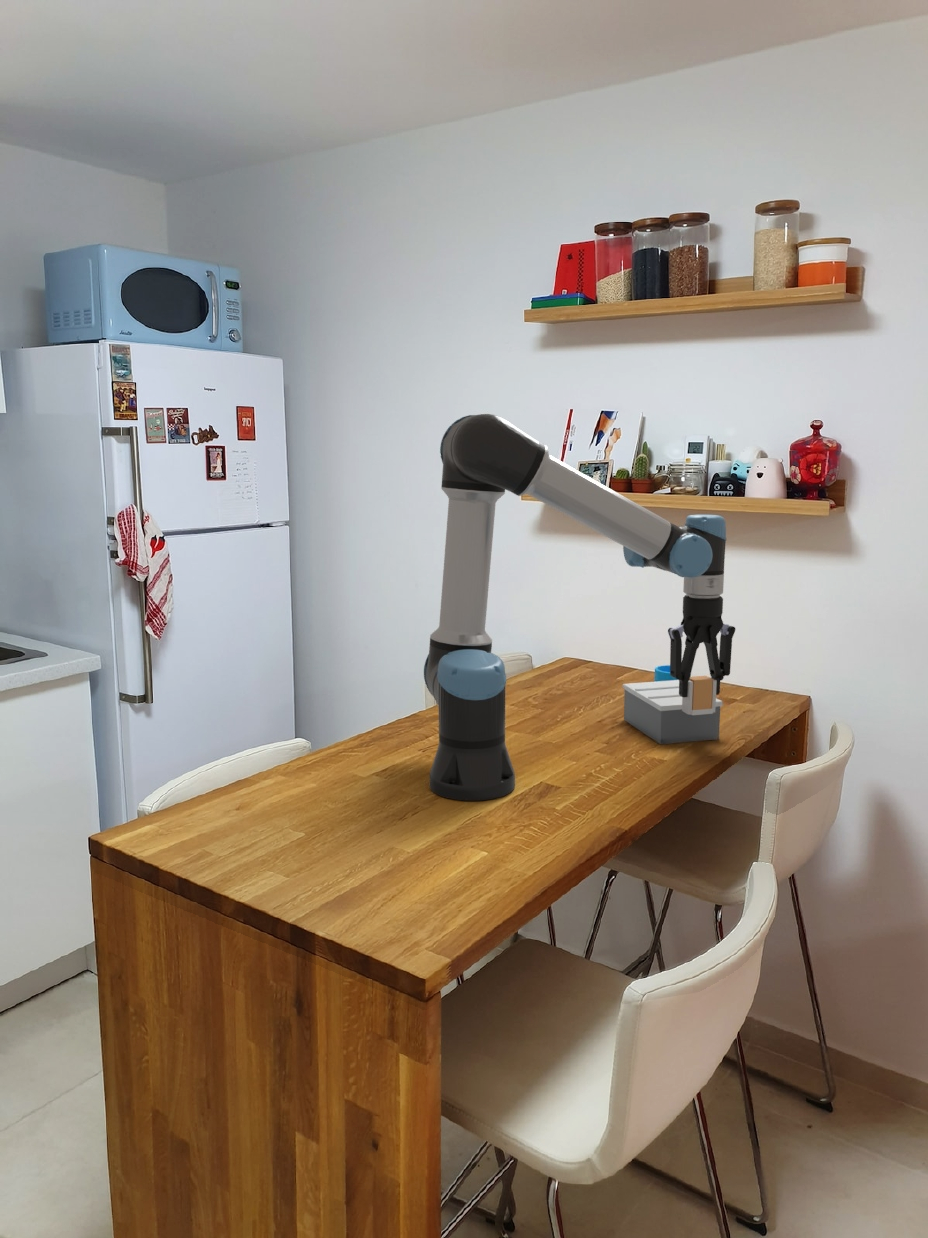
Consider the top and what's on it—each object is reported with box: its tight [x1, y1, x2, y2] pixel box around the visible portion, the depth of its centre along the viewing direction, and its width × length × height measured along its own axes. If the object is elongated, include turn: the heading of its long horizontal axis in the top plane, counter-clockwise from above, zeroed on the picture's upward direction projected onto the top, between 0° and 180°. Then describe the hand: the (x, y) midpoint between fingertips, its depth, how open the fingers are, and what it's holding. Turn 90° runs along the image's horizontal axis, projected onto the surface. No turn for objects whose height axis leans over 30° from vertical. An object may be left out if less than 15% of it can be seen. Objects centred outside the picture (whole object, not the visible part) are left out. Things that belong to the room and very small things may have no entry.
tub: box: [623, 689, 721, 745], centre depth 201 cm, size 13×18×7 cm
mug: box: [653, 664, 692, 682], centre depth 223 cm, size 12×8×8 cm
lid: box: [622, 675, 723, 715], centre depth 198 cm, size 14×23×7 cm, turn 14°
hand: (698, 711), depth 189 cm, fingers closed on lid, 4 cm apart
